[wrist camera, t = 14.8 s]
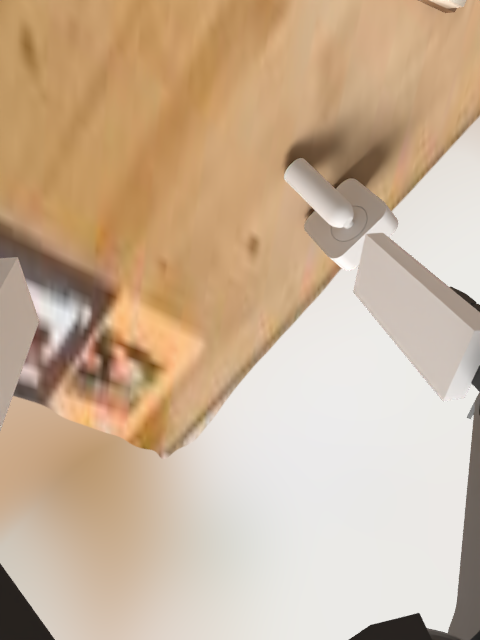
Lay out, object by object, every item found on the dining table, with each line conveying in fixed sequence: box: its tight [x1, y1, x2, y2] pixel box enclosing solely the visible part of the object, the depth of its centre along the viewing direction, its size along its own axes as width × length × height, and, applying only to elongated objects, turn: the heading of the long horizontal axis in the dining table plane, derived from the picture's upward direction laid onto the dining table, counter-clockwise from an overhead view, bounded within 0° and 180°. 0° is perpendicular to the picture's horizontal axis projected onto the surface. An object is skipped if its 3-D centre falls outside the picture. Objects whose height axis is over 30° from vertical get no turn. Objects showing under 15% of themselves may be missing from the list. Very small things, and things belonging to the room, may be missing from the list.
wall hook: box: [284, 158, 398, 270], centre depth 45 cm, size 8×10×10 cm
